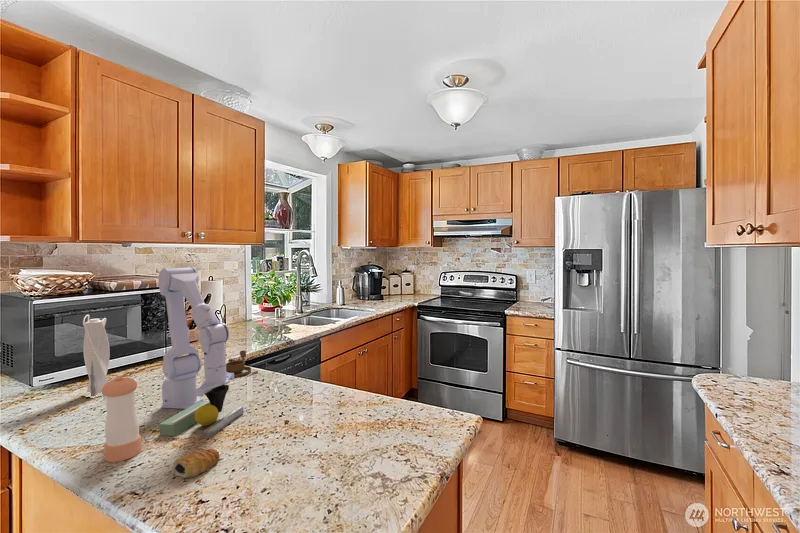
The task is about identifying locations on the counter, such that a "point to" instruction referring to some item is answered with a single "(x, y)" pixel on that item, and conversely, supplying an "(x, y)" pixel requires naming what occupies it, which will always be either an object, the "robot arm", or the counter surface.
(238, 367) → the place setting
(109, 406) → the salt shaker
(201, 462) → the pastry
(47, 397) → the counter surface
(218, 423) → the rail
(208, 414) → the lemon
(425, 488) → the counter surface
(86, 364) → the beige tall twisted piece
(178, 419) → the pale green rectangular bar
